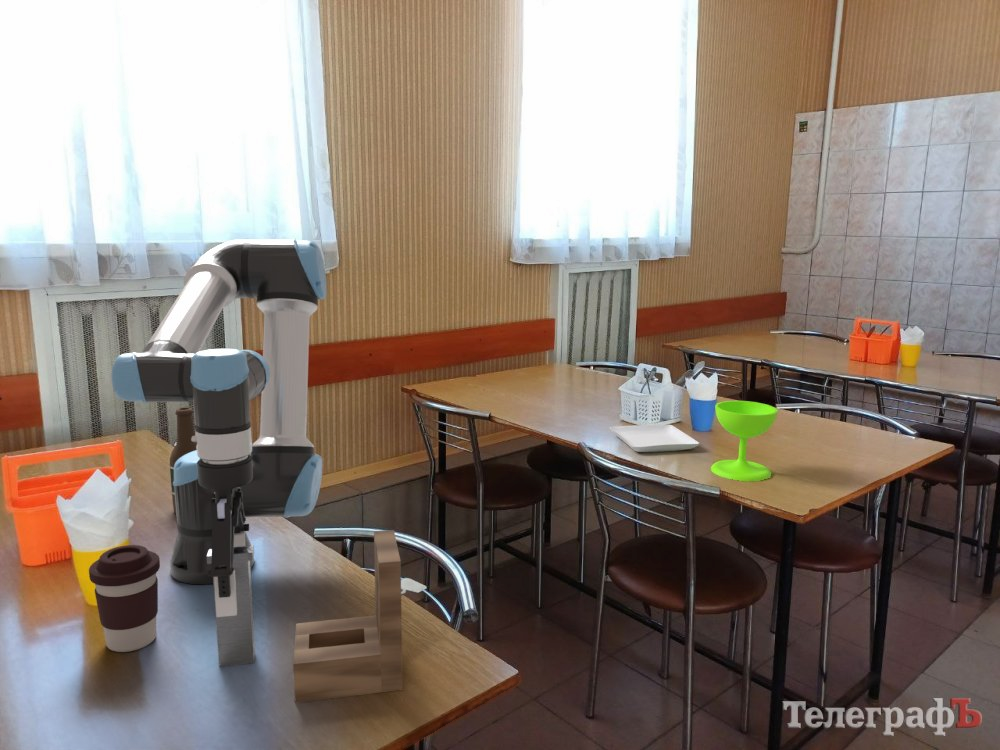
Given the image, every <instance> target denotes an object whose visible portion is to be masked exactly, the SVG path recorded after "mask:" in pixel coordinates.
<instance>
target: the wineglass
mask: <svg viewBox="0 0 1000 750" xmlns="http://www.w3.org/2000/svg"><path fill="white" fill-rule="evenodd" d="M714 408H715V415H716V418H717V421H718V422H719V423H720V425H721V427H723V429H724V430H725V431H727V432H728V434H731V435H733V436H736V437H739V445H738V458H737V459H722V460H719V461H716V462H714V463H713V464H712V465H711V467H710V471H711V472H712V473H713V474H714V475H716V476H719V477H721V478H723V479H728V480H732V479H733V481H737V480H739V482H749V481H754V482H761V481H760V480H763V481H765V480H764V479H767V478H769V477H770V476H771V474H772V471H771V470H770V469H769V467H766V466H765V465H763V464H761V463H757V462H755V461H754V462H753V461H750V460H747V459H746V458H747V445H748V438H755V437H759V436H760V435H762V434H765V433H766V432H767V431H768V430H769V429H770V428H771V427H772V426H773V424H774V423H775V421H776V420H777V417H778V416H777V415H778V408H777V407H775V406H772V405H770V404H765V403H761V402H757V401H749V400H748V401H747V400H726V401H725V400H724V401H721V402H717V403H716V404H715V407H714ZM771 477H772V476H771ZM771 477H770V478H771ZM770 478H769V479H770ZM767 480H768V479H767Z"/></svg>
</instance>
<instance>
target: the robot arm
mask: <svg viewBox="0 0 1000 750" xmlns="http://www.w3.org/2000/svg"><path fill="white" fill-rule="evenodd" d="M183 286H184V287H183V288H182V290H181V291H180V293H179V294H178V296H177V298H176V299H175V301H174V303H173V304H172V305H171V307H170V308H169V309H168V312H167V313H166V315H165V316H164V318H163V319H162V320H161V322H160V324H159V325H158V327H157V328H156V329H155V332H154V333H153V335H152V336H151V337H150V339H149V340H148V342H147V344H146V345H145V347H144V348H143V349H142V351H141V352H136V351H132V352H129V353H128V352H127V353H122V354H120V355H118V356H117V357H116V358H115V360H114V362H113V363H112V364H113V365H112V368H111V384H112V388H113V392H114V394H115V395H116V397H117V398H119V399H120V400H121V401H124V402H136V403H139V402H140V403H143V404H147V403H180V402H181V403H183V402H184V403H186V402H187V403H192V404H193V415H194V416H193V419H194V431H195V436H192V438H191V440H192V441H193V442H197V446H196V447H197V450H195V451H192V452H190V453H188V454H185V455H183V456H182V457H180V458H179V459H178V460H177V461H176V463H175V465H174V481H173V486H174V492H175V503H176V512H175V514H176V524H177V525H176V526H177V536H176V538H175V543H174V547H173V549H172V550H173V551H172V553H171V558H170V561H169V562H170V563H169V566H170V567H169V568H170V574H171V576H172V578H173V579H175V581H178V582H181V583H184V584H190V585H209V584H213V586H214V585H215V598H214V602H215V601H216V613H215V618H216V617H225V616H235V615H237V599H236V581H235V570H234V568H233V556H234V547H243V546H252V544H251V541H250V539H249V537H248V535H247V532H249V531H250V524H249V523H246V521H247V518H285V519H286V518H290V517H305V516H308V515H309V514H311V513H312V512H313V510H314V509H315V507H316V504H317V502H318V498H319V493H320V490H321V486H322V485H321V484H322V478H323V458H322V456H321V455H319V454H317V453H315V446H314V444H313V443H312V442H311V441H310V440H309V439H308V437H307V424H308V423H307V422H308V421H307V420H308V419H307V418H308V417H307V416H308V384H309V383H308V381H309V354H310V353H309V347H310V317H311V316H312V315H313V314H314V313H315V312H317V310H318V307H319V305H318V304H319V301H322V300H324V299H325V298H327V290H328V289H327V275H326V271H325V263H324V259H323V255H322V252H321V249H320V247H319V246H318V244H317V243H316V242H315V241H313V240H305V239H296V238H292V239H271V238H270V239H269V238H268V239H263V238H262V239H259V238H257V239H252V238H251V239H250V238H238V239H233V240H229V241H225V242H223V243H222V244H219V245H217V246H215V247H213V248H211V249H209V250H208V251H206V252H204V253H203V254H202V255H200V256H199V257H198V258H197V259H196V260H195V261H194V262H193V263H192V264H191V265H190V267H189V269H188V270H187V271H186V273H185V275H184V279H183ZM236 299H256V307H257V308H258V309H259V310H260V311H261V312H262V314H263V315H264V317H263V343H262V348H263V349H262V355H261V354H260V353H258V352H256V351H255V350H251V349H241V350H240V349H236V348H212V349H205V350H201V349H202V347H203V345H204V344H205V342H206V340H207V338H208V336H209V335H210V333H211V330H212V329H213V327H214V325H215V323H216V322H217V319H218V318H219V316H220V314H221V312H222V311H223V309H224V308H225V307H228V306H229V305H231V304H232V303H233V301H234V300H236ZM259 395H261V397H260V399H261V402H260V428H259V429H260V430H259V437H258V439H257V440H256V441H254V442H253V441H252V440H253V439H252V426H251V417H250V415H251V411H250V409H251V408H250V402H251V401H252V400H253V399H255V398H256V397H258V396H259ZM252 442H253V443H252ZM209 549H212V564H207V554H208V551H209ZM254 564H255V556H254V557H253V560H250V569H252V567H253V566H254ZM213 577H214V583H213Z"/></svg>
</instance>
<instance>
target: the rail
mask: <svg viewBox="0 0 1000 750" xmlns="http://www.w3.org/2000/svg"><path fill="white" fill-rule="evenodd" d="M253 557H254V558H255V546H254V545H251V546H243V547H234V556H233V568H234V570H235V581H236V599H237V615H235V616H225V617H216V616H215V623H216V624H215V626H216V639H217V654H218V655H217V657H218V667H219V668H221V667H228V666H238V665H239V666H240V665H247V664H255V658H256V646H255V645H256V644H255V641H256V640H255V629H254V628H255V627H254V610H253V592H252V589H253V588H252V575H251V574H252V573H251V568H250V560H253ZM207 564H212V549H209V551H208V554H207ZM212 584H213V593H214V599H215V585H214V577H213V583H212ZM214 610H215V614H216V601H215V600H214Z"/></svg>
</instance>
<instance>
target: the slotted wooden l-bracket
mask: <svg viewBox="0 0 1000 750" xmlns="http://www.w3.org/2000/svg"><path fill="white" fill-rule="evenodd" d="M373 543H374V544H373V546H374V549H373V550H374V595H375V601H374V602H375V603H374V605H375V615H367V616H359V617H358V616H356V617H349V618H348V617H346V618H337V619H328V620H317V621H307V622H299V623H295V633H294V634H295V637H294V648H293V649H294V650H293V664H292V665H293V685H294V686H293V689H294V703H295V704H297V703H303V702H304V703H305V702H312V701H320V700H328V699H336V698H345V697H353V696H363V695H371V694H377V693H385V692H394V691H401V690H403V643H402V640H403V638H402V636H403V633H402V628H403V626H402V595H401V592H402V590H401V580H402V577H401V576H402V571H401V570H402V566H401V565H402V564H401V563H402V561H401V557H400V553H399V548H398V543H397V538H396V535H395V529H390V530H388V529H387V530H376V531H373Z"/></svg>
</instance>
